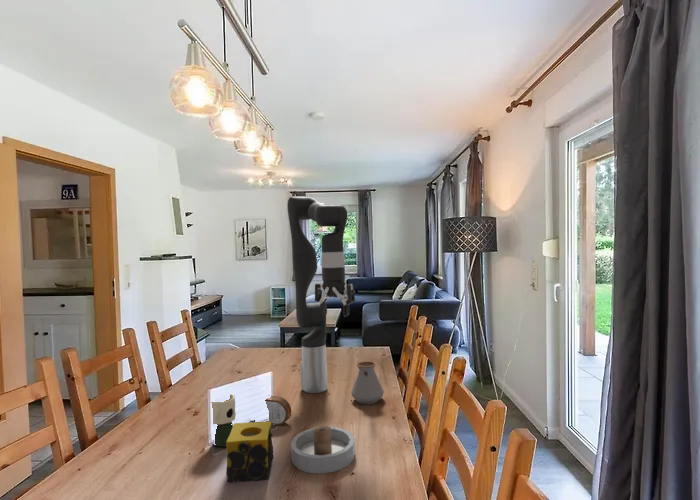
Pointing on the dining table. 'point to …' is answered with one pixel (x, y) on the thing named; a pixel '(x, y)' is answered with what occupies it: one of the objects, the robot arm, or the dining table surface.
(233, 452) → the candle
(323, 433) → the walnut bead
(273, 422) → the tin
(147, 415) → the dining table surface
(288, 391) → the dining table surface
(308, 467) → the round tray
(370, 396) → the coffee pot
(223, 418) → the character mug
